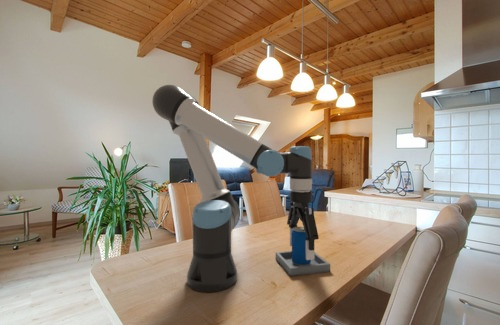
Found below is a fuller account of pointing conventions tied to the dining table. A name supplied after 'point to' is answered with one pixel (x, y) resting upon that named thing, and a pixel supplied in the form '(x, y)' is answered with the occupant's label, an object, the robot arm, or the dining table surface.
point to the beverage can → (299, 247)
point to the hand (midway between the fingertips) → (301, 252)
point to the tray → (294, 270)
